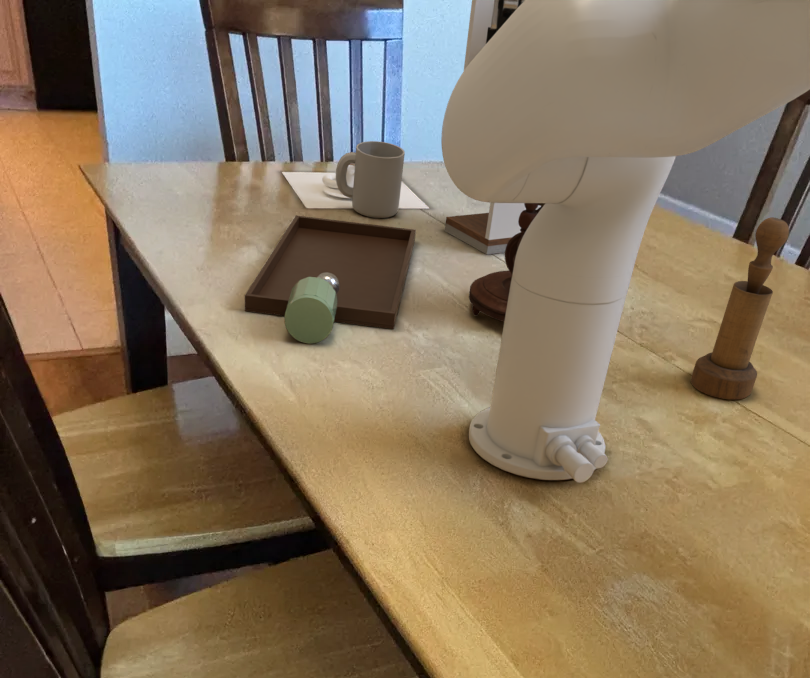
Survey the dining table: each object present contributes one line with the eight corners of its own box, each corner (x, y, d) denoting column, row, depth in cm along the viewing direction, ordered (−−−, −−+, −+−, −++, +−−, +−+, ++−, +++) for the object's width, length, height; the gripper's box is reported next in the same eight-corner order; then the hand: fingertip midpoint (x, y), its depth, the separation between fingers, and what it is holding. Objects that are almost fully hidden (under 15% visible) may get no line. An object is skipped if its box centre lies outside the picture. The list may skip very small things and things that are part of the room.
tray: (393, 329, 100) (395, 313, 98) (244, 311, 100) (244, 295, 99) (414, 243, 125) (415, 229, 124) (295, 228, 125) (295, 215, 124)
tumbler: (342, 313, 92) (345, 292, 97) (297, 288, 91) (303, 268, 96) (319, 352, 95) (324, 330, 100) (275, 328, 93) (282, 307, 98)
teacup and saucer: (316, 185, 144) (317, 158, 141) (363, 185, 146) (364, 159, 143) (328, 201, 137) (329, 174, 135) (377, 201, 139) (379, 174, 137)
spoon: (322, 310, 93) (337, 233, 98) (294, 308, 93) (311, 231, 98) (328, 360, 100) (342, 286, 105) (302, 358, 100) (317, 284, 105)
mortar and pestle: (705, 367, 99) (757, 204, 88) (760, 387, 96) (821, 221, 85) (680, 385, 95) (732, 216, 84) (736, 406, 92) (798, 234, 81)
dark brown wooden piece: (558, 352, 99) (597, 166, 87) (445, 315, 104) (467, 136, 92) (604, 314, 109) (645, 144, 97) (499, 283, 115) (526, 118, 103)
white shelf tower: (504, 224, 136) (547, -45, 115) (548, 246, 129) (601, -35, 108) (444, 230, 130) (477, -51, 110) (486, 254, 123) (530, -41, 103)
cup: (396, 221, 132) (402, 161, 126) (330, 212, 132) (334, 150, 126) (399, 204, 138) (406, 145, 132) (337, 195, 137) (341, 135, 131)
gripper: (589, -179, 63) (542, 99, 74) (575, -166, 75) (536, 72, 86) (486, -191, 63) (455, 89, 74) (488, -176, 75) (460, 63, 86)
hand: (498, 79), depth 80 cm, fingers closed
